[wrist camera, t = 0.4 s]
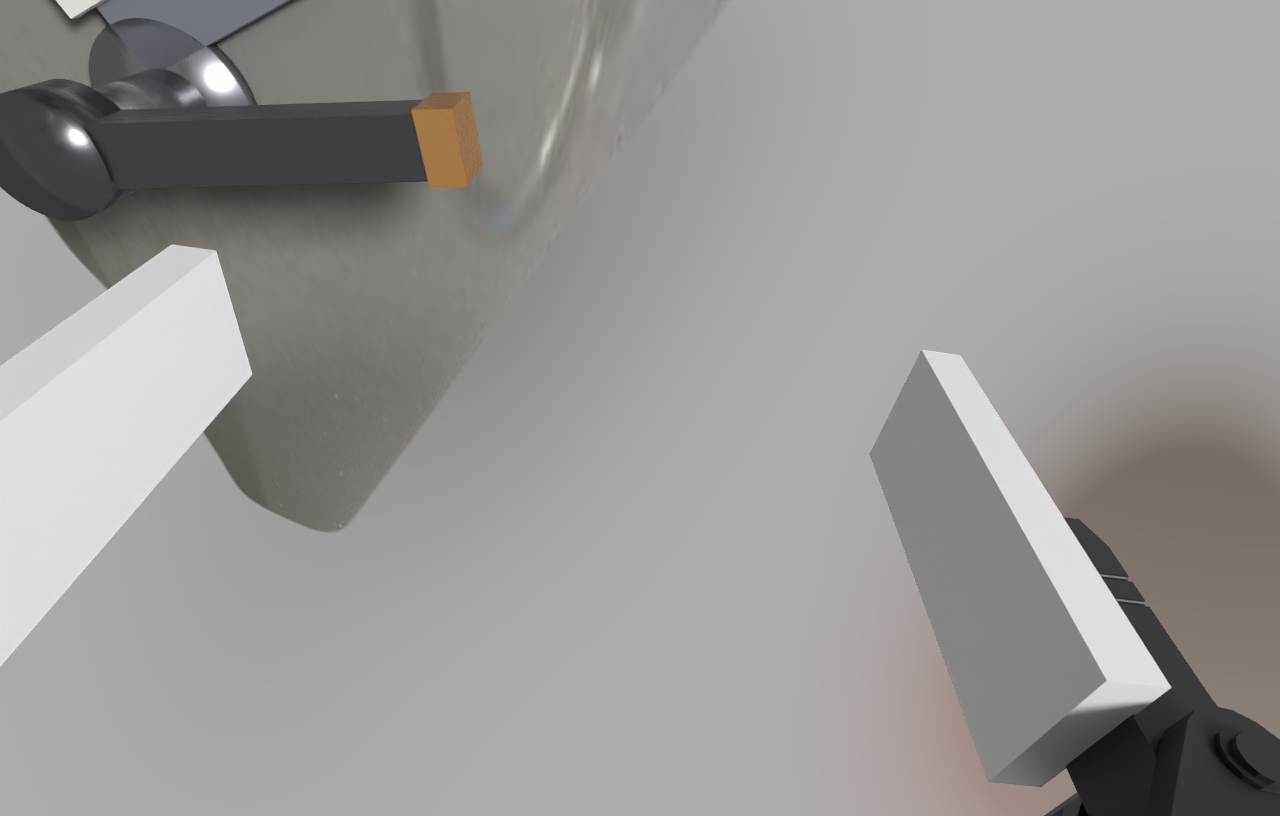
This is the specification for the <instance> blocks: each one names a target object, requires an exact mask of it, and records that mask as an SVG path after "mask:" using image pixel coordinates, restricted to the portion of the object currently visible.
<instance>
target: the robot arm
mask: <svg viewBox="0 0 1280 816" xmlns="http://www.w3.org/2000/svg"><path fill="white" fill-rule="evenodd" d="M251 375H252V371H251V368H250V365H249V361H248V358H247V354H246V351H245V348H244V344H243V341H242V337H241V334H240V331H239V327H238V324H237V320H236V317H235V314H234V310H233V307H232V303H231V300H230V296H229V293H228V290H227V286H226V283H225V279H224V276H223V273H222V269H221V266H220V262H219V259H218V256H217V252H216V251H214V250H207V249H200V248H193V247H186V246H179V245H170V246H169V247H168V248H166V249H165V250H163V251H162V252H160V253H159V254H158V255H156V256H155V257H153V258H152V259H151V260H149V261H148V262H146V263H145V264H144V265H142V266H141V267H139V268H138V269H136V270H135V271H134V272H132V273H131V274H129V275H128V276H127V277H125V278H124V279H122V280H121V281H120V282H118V283H117V284H115V285H114V286H112V287H111V288H110V289H108V290H107V291H106V292H104V293H103V294H101V295H100V296H98V297H97V298H96V299H94V300H93V301H91V302H90V303H89V304H87V305H86V306H84V307H83V308H81V309H80V310H79V311H77V312H76V313H75V314H73V315H72V316H70V317H69V318H67V319H66V320H64V321H63V322H62V323H60V324H59V325H57V326H56V327H55V328H53V329H52V330H50V331H49V332H47V333H46V334H45V335H43V336H42V337H41V338H39V339H38V340H36V341H35V342H33V343H32V344H31V345H29V346H28V347H27V348H25V349H24V350H22V351H21V352H19V353H18V354H16V355H15V356H14V357H12V358H11V359H10V360H8V361H7V362H5V363H4V364H2V365H1V366H0V666H1V665H2V664H3V663H4V662H5V660H6V659H7V658H8V657H9V656H10V655H11V654H12V652H13V651H14V650H15V649H16V648H17V646H18V645H19V644H20V643H21V642H22V641H23V640H24V639H25V637H26V636H27V635H28V634H29V633H30V632H31V630H32V629H33V628H34V627H35V626H36V624H37V623H38V622H39V621H40V620H41V619H42V618H43V616H44V615H45V614H46V613H47V612H48V611H49V609H50V608H51V607H52V606H53V605H54V604H55V602H56V601H57V600H58V599H59V598H60V597H61V596H62V594H63V593H64V592H65V591H66V590H67V589H68V587H69V586H70V585H71V584H72V583H73V582H74V580H75V579H76V578H77V577H78V576H79V575H80V574H81V572H82V571H83V570H84V569H85V568H86V567H87V565H88V564H89V563H90V562H91V561H92V560H93V558H94V557H95V556H96V555H97V554H98V553H99V552H100V550H101V549H102V548H103V547H104V546H105V545H106V543H107V542H108V541H109V540H110V539H111V537H112V536H113V535H114V534H115V533H116V532H117V531H118V530H119V528H120V527H121V526H122V525H123V524H124V523H125V521H126V520H127V519H128V518H129V517H130V516H131V514H132V513H133V512H134V511H135V510H136V509H137V507H138V506H139V505H140V504H141V503H142V502H143V500H144V499H145V498H146V497H147V496H148V495H149V494H150V492H151V491H152V490H153V489H154V488H155V487H156V486H157V484H158V483H159V482H160V481H161V480H162V479H163V477H164V476H165V475H166V474H167V473H168V471H169V470H170V469H171V468H172V467H173V466H174V465H175V463H176V462H177V461H178V460H179V459H180V457H181V456H182V455H183V454H184V453H185V452H186V451H187V450H188V448H189V447H190V446H191V445H192V444H193V442H194V441H195V440H196V439H197V438H198V437H199V436H200V435H201V433H202V432H203V431H204V430H205V429H206V428H207V426H208V425H209V424H210V423H211V422H212V421H213V419H214V418H215V417H216V416H217V415H218V414H219V412H220V411H221V410H222V409H223V408H224V407H225V406H226V404H227V403H228V402H229V401H230V400H231V399H232V397H233V396H234V395H235V394H236V393H237V392H238V390H239V389H240V388H241V387H242V386H243V385H244V384H245V382H246V381H247V380H248V379H249V378H250V377H251ZM870 457H871V459H872V462H873V465H874V467H875V470H876V473H877V476H878V479H879V481H880V484H881V487H882V489H883V492H884V495H885V498H886V501H887V503H888V506H889V509H890V512H891V515H892V517H893V520H894V523H895V526H896V528H897V531H898V534H899V537H900V539H901V542H902V545H903V548H904V550H905V553H906V556H907V559H908V561H909V564H910V567H911V570H912V572H913V575H914V578H915V581H916V583H917V586H918V589H919V592H920V595H921V597H922V600H923V603H924V605H925V608H926V611H927V614H928V616H929V619H930V622H931V625H932V628H933V630H934V633H935V636H936V639H937V641H938V644H939V647H940V650H941V652H942V655H943V658H944V661H945V664H946V666H947V669H948V672H949V675H950V677H951V680H952V683H953V685H954V688H955V691H956V694H957V697H958V699H959V702H960V705H961V708H962V710H963V713H964V716H965V718H966V721H967V724H968V727H969V730H970V732H971V735H972V738H973V741H974V743H975V746H976V749H977V752H978V754H979V757H980V760H981V763H982V766H983V768H984V771H985V774H986V777H987V779H988V782H995V783H1006V784H1016V785H1027V786H1036V787H1042V786H1043V785H1044V784H1046V783H1047V782H1048V781H1050V780H1051V779H1052V778H1054V777H1055V776H1056V775H1058V774H1059V773H1060V772H1061V771H1063V770H1064V769H1065V768H1067V770H1068V772H1069V774H1070V777H1071V779H1072V781H1073V783H1074V785H1075V788H1076V790H1077V793H1076V794H1074V795H1073V796H1071V797H1070V798H1069V799H1067V800H1066V801H1065V802H1063V803H1062V804H1060V805H1059V806H1057V807H1056V808H1054V809H1053V810H1052V811H1050V812H1049V813H1047V814H1046V815H1044V816H1280V740H1279V739H1278V738H1277V737H1275V736H1274V735H1273V734H1271V733H1270V732H1269V731H1267V730H1266V729H1265V728H1263V727H1262V726H1260V725H1259V724H1258V723H1257V722H1255V721H1253V720H1251V719H1249V718H1247V717H1245V716H1243V715H1241V714H1238V713H1236V712H1235V711H1233V710H1229V709H1224V708H1220V707H1218V706H1217V705H1216V704H1215V703H1214V701H1213V700H1212V699H1211V697H1210V696H1209V694H1208V693H1207V691H1206V690H1205V688H1204V687H1203V685H1202V684H1201V682H1200V681H1199V679H1198V678H1197V677H1196V675H1195V674H1194V672H1193V671H1192V669H1191V668H1190V666H1189V665H1188V663H1187V662H1186V660H1185V659H1184V657H1183V656H1182V654H1181V653H1180V651H1179V650H1178V649H1177V647H1176V646H1175V644H1174V643H1173V641H1172V640H1171V638H1170V637H1169V635H1168V634H1167V632H1166V631H1165V629H1164V628H1163V626H1162V625H1161V624H1160V622H1159V620H1158V619H1157V617H1156V616H1155V615H1154V613H1153V612H1152V610H1151V609H1150V607H1146V606H1145V605H1144V601H1145V600H1144V598H1143V597H1142V595H1141V594H1140V592H1139V591H1138V589H1137V588H1136V587H1135V585H1134V584H1133V582H1129V581H1128V575H1127V573H1126V572H1125V570H1124V569H1123V567H1122V566H1121V564H1120V563H1119V561H1118V560H1117V558H1116V557H1115V556H1114V554H1113V553H1112V551H1111V550H1110V548H1109V547H1108V546H1107V545H1106V544H1105V543H1104V542H1103V541H1102V540H1101V539H1100V538H1099V537H1098V536H1096V535H1095V534H1094V533H1093V532H1092V531H1091V530H1090V529H1089V528H1088V527H1087V526H1085V524H1083V523H1082V522H1081V521H1080V520H1079V519H1072V518H1065V517H1063V516H1062V515H1061V513H1060V512H1059V510H1058V508H1057V507H1056V505H1055V504H1054V502H1053V501H1052V499H1051V497H1050V496H1049V494H1048V493H1047V491H1046V490H1045V488H1044V486H1043V485H1042V483H1041V482H1040V480H1039V479H1038V477H1037V475H1036V474H1035V472H1034V471H1033V469H1032V468H1031V466H1030V464H1029V463H1028V461H1027V460H1026V458H1025V457H1024V455H1023V453H1022V452H1021V450H1020V449H1019V447H1018V446H1017V444H1016V443H1015V441H1014V439H1013V438H1012V436H1011V435H1010V433H1009V432H1008V430H1007V428H1006V427H1005V425H1004V424H1003V422H1002V420H1001V419H1000V417H999V416H998V414H997V413H996V411H995V410H994V408H993V406H992V405H991V403H990V402H989V400H988V398H987V397H986V395H985V394H984V392H983V391H982V389H981V387H980V386H979V384H978V383H977V381H976V380H975V378H974V376H973V375H972V373H971V372H970V370H969V369H968V367H967V365H966V364H965V362H964V361H963V359H962V358H961V356H960V355H955V354H948V353H941V352H934V351H926V350H921V352H920V354H919V356H918V358H917V360H916V362H915V364H914V366H913V368H912V370H911V372H910V374H909V376H908V378H907V380H906V382H905V384H904V386H903V388H902V390H901V392H900V395H899V396H898V398H897V401H896V403H895V404H894V406H893V408H892V410H891V412H890V414H889V416H888V419H887V420H886V423H885V424H884V426H883V428H882V431H881V432H880V434H879V436H878V438H877V440H876V442H875V444H874V446H873V448H872V450H871V452H870Z"/></svg>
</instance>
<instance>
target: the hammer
mask: <svg viewBox="0 0 1280 816" xmlns="http://www.w3.org/2000/svg"><path fill="white" fill-rule="evenodd" d="M482 166H483V162H482V156H481V151H480V145H479V140H478V134H477V129H476V124H475V118H474V113H473V107H472V102H471V96H470V92H458V93H432V94H431V95H429V96H428V97H427V98H426V99H424V100H404V101H373V102H341V103H310V104H278V105H247V106H215V107H184V108H152V109H123V110H121V109H120V108H119V107H118V106H117V105H116V104H115V103H114V102H112V101H111V100H110V99H109V98H107V97H106V96H104V95H103V94H101V93H100V92H98V91H96V90H94V89H92V88H91V87H89V86H86V85H84V84H81V83H78V82H75V81H71V80H65V79H53V80H47V81H44V82H40V83H36V84H33V85H29V86H26V87H22V88H19V89H15V90H12V91H8V92H4V93H1V94H0V187H1V188H2V189H3V190H5V191H6V192H7V193H8V194H9V195H11V196H12V197H13V198H15V199H16V200H17V201H19V202H20V203H22V204H24V205H25V206H27V207H29V208H30V209H32V210H34V211H37V212H39V213H41V214H44V215H46V216H49V217H53V218H56V219H62V220H81V219H85V218H88V217H90V216H92V215H94V214H96V213H98V212H100V211H101V210H103V209H105V208H107V207H109V206H111V205H113V204H114V203H116V202H118V201H120V200H122V199H124V198H126V197H128V196H129V195H131V194H133V193H135V192H137V191H138V190H140V189H144V188H184V187H224V186H264V185H303V184H343V183H383V182H422V181H428V183H429V187H430V188H442V187H468V186H469V184H470V183H471V182H472V180H473V179H474V177H475V176H476V175H477V173H478V172H479V170H480V169H481V168H482Z"/></svg>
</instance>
